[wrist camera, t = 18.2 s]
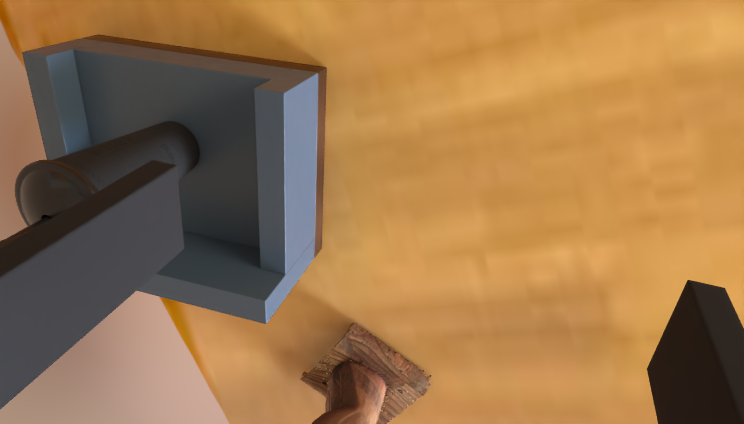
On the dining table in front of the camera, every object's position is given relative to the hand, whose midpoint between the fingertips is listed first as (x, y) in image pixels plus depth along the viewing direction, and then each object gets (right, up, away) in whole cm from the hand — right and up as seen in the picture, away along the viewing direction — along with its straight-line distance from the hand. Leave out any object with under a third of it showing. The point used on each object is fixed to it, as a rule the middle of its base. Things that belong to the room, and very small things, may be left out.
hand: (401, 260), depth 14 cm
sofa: (-17, +8, +41) cm, 45 cm away
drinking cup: (-18, +7, +36) cm, 41 cm away
